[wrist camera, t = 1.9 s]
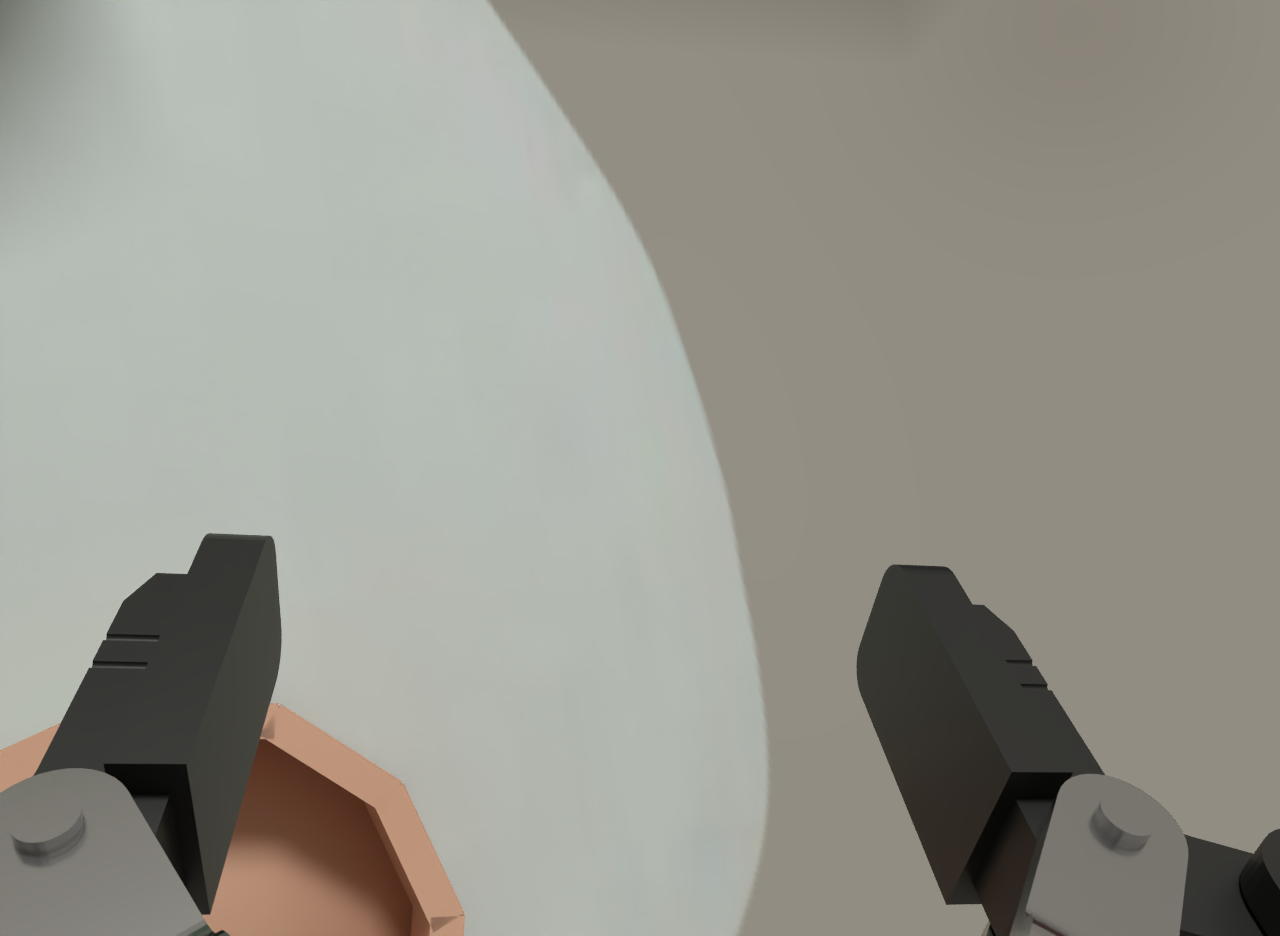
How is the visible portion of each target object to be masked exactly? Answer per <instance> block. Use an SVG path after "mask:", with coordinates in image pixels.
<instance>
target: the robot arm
mask: <svg viewBox="0 0 1280 936" xmlns="http://www.w3.org/2000/svg"><path fill="white" fill-rule="evenodd" d="M280 655H281V618H280V604H279V591H278V578H277V565H276V552H275V544H274V540H273V538H272V537H271V536H259V535H235V534H212V533H209V534H207V535H206V536H205V537H204V538H203V540H202V542H201V545H200V547H199V549H198V551H197V554H196V556H195V558H194V560H193V563H192V565H191V567H190V569H189V572H188V574H166V573H156V574H155V575H154V576H153V577H152V578H150V579H149V580H148V581H147V582H146V583H144V584H143V585H142V586H141V587H140V588H138V589H137V590H136V591H135V592H134V593H132V594H131V595H130V596H129V597H128V598H126V599H125V600H124V601H123V603H122V605H121V607H120V609H119V611H118V613H117V615H116V616H115V618H114V620H113V622H112V624H111V626H110V628H109V630H108V632H107V638H106V640H103V642H102V644H101V646H100V648H99V650H98V652H97V654H96V656H95V657H94V659H93V666H92V668H89V669H88V671H87V673H86V675H85V677H84V679H83V681H82V683H81V685H80V687H79V689H78V691H77V693H76V695H75V696H74V698H73V700H72V702H71V704H70V706H69V708H68V710H67V712H66V714H65V716H64V718H63V720H62V722H61V724H60V726H59V728H58V730H57V732H56V734H55V736H54V737H53V739H52V741H51V743H50V745H49V747H48V749H47V751H46V753H45V755H44V757H43V759H42V761H41V763H40V765H39V767H38V769H37V770H36V772H35V774H34V775H33V777H30V778H27V779H24V780H22V781H20V782H18V783H16V784H14V785H12V786H10V787H9V788H7V789H6V790H4V791H2V792H1V793H0V936H230V935H229V934H228V933H227V932H226V931H224V930H220V931H219V932H217V933H214V932H213V931H212V930H211V928H210V927H209V926H208V924H207V923H206V921H205V919H204V918H203V916H202V915H210V914H211V910H212V907H213V903H214V900H215V896H216V892H217V889H218V885H219V882H220V878H221V875H222V871H223V868H224V864H225V861H226V857H227V853H228V850H229V846H230V843H231V839H232V836H233V832H234V829H235V825H236V822H237V818H238V814H239V811H240V807H241V804H242V800H243V797H244V793H245V790H246V786H247V783H248V779H249V775H250V772H251V768H252V765H253V761H254V758H255V754H256V751H257V747H258V744H259V740H260V736H261V733H262V729H263V726H264V722H265V719H266V715H267V712H268V708H269V705H270V701H271V697H272V694H273V690H274V687H275V683H276V679H277V675H278V670H279V663H280ZM857 680H858V686H859V690H860V693H861V696H862V699H863V701H864V703H865V705H866V708H867V711H868V713H869V716H870V718H871V721H872V723H873V726H874V728H875V731H876V733H877V735H878V738H879V740H880V743H881V745H882V748H883V750H884V753H885V755H886V757H887V760H888V763H889V765H890V767H891V770H892V772H893V775H894V777H895V780H896V782H897V785H898V787H899V790H900V792H901V794H902V797H903V799H904V802H905V804H906V807H907V809H908V811H909V814H910V817H911V819H912V821H913V824H914V826H915V829H916V831H917V833H918V836H919V839H920V841H921V843H922V846H923V848H924V851H925V853H926V856H927V858H928V861H929V863H930V866H931V868H932V871H933V873H934V876H935V878H936V880H937V883H938V885H939V888H940V890H941V893H942V895H943V898H944V900H945V902H946V905H948V904H949V905H950V904H982V905H983V907H984V910H985V912H986V915H987V917H988V919H989V922H988V923H987V925H986V927H985V929H984V931H983V933H982V935H981V936H1280V829H1277V830H1275V831H1273V832H1271V833H1269V834H1268V836H1267V837H1266V838H1265V839H1264V840H1263V842H1262V843H1261V844H1260V846H1259V847H1258V848H1257V850H1256V851H1255V853H1254V854H1252V853H1248V852H1245V851H1241V850H1238V849H1234V848H1230V847H1227V846H1223V845H1220V844H1216V843H1212V842H1209V841H1205V840H1201V839H1198V838H1194V837H1191V836H1188V835H1185V834H1183V832H1182V830H1181V828H1180V826H1179V825H1178V823H1177V822H1176V820H1175V819H1174V818H1173V817H1172V815H1171V814H1170V813H1169V812H1168V811H1167V810H1166V809H1165V808H1164V807H1163V806H1162V805H1161V804H1160V803H1159V802H1157V801H1156V800H1155V799H1154V798H1152V797H1151V796H1150V795H1148V794H1147V793H1145V792H1144V791H1142V790H1141V789H1139V788H1137V787H1135V786H1133V785H1131V784H1129V783H1127V782H1125V781H1122V780H1120V779H1117V778H1113V777H1110V776H1106V775H1105V774H1104V773H1103V771H1102V769H1101V768H1100V766H1099V765H1098V763H1097V762H1096V760H1095V759H1094V757H1093V755H1092V754H1091V752H1090V750H1089V749H1088V747H1087V746H1086V744H1085V743H1084V741H1083V739H1082V738H1081V736H1080V735H1079V733H1078V732H1077V730H1076V728H1075V727H1074V725H1073V724H1072V722H1071V721H1070V719H1069V717H1068V716H1067V714H1066V713H1065V711H1064V710H1063V708H1062V706H1061V705H1060V703H1059V702H1058V700H1057V698H1056V697H1055V695H1054V694H1053V692H1052V691H1051V690H1050V691H1049V690H1048V689H1047V683H1046V681H1045V680H1044V678H1043V676H1042V675H1041V673H1040V672H1039V670H1038V669H1037V667H1036V666H1032V659H1031V658H1030V656H1029V654H1028V653H1027V651H1026V649H1025V648H1024V646H1023V645H1022V643H1021V642H1020V640H1019V638H1018V637H1017V635H1016V634H1015V632H1014V631H1013V630H1012V629H1011V628H1010V627H1009V626H1007V625H1006V624H1005V623H1004V622H1003V621H1001V620H1000V619H999V618H998V617H997V616H996V615H995V614H993V613H992V612H991V611H990V610H989V609H988V608H987V607H985V606H984V605H972V603H971V601H970V600H969V598H968V596H967V595H966V593H965V591H964V590H963V588H962V587H961V585H960V583H959V581H958V580H957V578H956V576H955V575H954V574H953V572H952V571H951V570H950V569H949V568H947V567H939V566H917V565H891V566H890V567H889V568H888V569H887V570H886V572H885V574H884V576H883V579H882V582H881V584H880V587H879V590H878V593H877V596H876V599H875V602H874V605H873V608H872V611H871V614H870V617H869V620H868V623H867V626H866V629H865V632H864V634H863V637H862V641H861V643H860V647H859V651H858V656H857Z"/></svg>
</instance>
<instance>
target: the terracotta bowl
mask: <svg viewBox="0 0 1280 936" xmlns="http://www.w3.org/2000/svg"><path fill="white" fill-rule="evenodd" d="M60 724H61V723H59V724H57V725H55V726H53V727H51V728H48V729H46V730H44V731H42V732H40V733H38V734H35V735H33V736H31V737H29V738H27V739H24V740H22V741H20V742H18V743H16V744H13V745H11V746H9V747H7V748H5V749H3V750H0V793H1V792H2V791H4V790H6V789H7V788H9V787H10V786H12V785H14V784H16V783H18V782H20V781H22V780H24V779H27V778H30V777H33V775H34V774H35V772H36V770H37V769H38V767H39V765H40V763H41V761H42V759H43V757H44V755H45V753H46V751H47V749H48V747H49V745H50V743H51V741H52V739H53V737H54V736H55V734H56V732H57V730H58V728H59V726H60ZM463 913H464V911H463V909H462V907H461V905H460V903H459V901H458V898H457V896H456V894H455V892H454V890H453V888H452V886H451V884H450V881H449V879H448V877H447V875H446V873H445V871H444V869H443V867H442V864H441V862H440V860H439V858H438V856H437V854H436V852H435V849H434V847H433V845H432V843H431V841H430V839H429V837H428V835H427V832H426V830H425V828H424V826H423V824H422V822H421V820H420V818H419V815H418V813H417V811H416V809H415V807H414V805H413V803H412V801H411V798H410V796H409V794H408V792H407V790H406V788H405V786H404V784H403V783H401V781H400V780H399V779H397V778H396V777H394V776H393V775H391V774H389V773H388V772H386V771H385V770H383V769H382V768H380V767H378V766H377V765H375V764H374V763H372V762H371V761H369V760H367V759H366V758H364V757H363V756H361V755H360V754H358V753H356V752H355V751H353V750H352V749H350V748H349V747H347V746H345V745H344V744H342V743H341V742H339V741H338V740H336V739H334V738H333V737H331V736H330V735H328V734H327V733H325V732H324V731H322V730H320V729H319V728H317V727H316V726H314V725H313V724H311V723H309V722H308V721H306V720H305V719H303V718H302V717H300V716H298V715H297V714H295V713H294V712H292V711H291V710H289V709H287V708H286V707H284V706H283V705H279V706H278V704H275V703H270V705H269V708H268V712H267V715H266V719H265V722H264V726H263V729H262V733H261V736H260V740H259V744H258V747H257V751H256V754H255V758H254V761H253V765H252V768H251V772H250V775H249V779H248V783H247V786H246V790H245V793H244V797H243V800H242V804H241V807H240V811H239V814H238V818H237V822H236V825H235V829H234V832H233V836H232V839H231V843H230V846H229V850H228V853H227V857H226V861H225V864H224V868H223V871H222V875H221V878H220V882H219V885H218V889H217V892H216V896H215V900H214V903H213V907H212V910H211V914H210V915H202V916H203V918H204V919H205V921H206V923H207V924H208V926H209V927H210V928H211V930H212V931H213V932H214V933H217V932H219V931H220V930H224V931H226V932H227V933H228V934H229V935H230V936H464V921H465V916H464V915H463Z"/></svg>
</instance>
